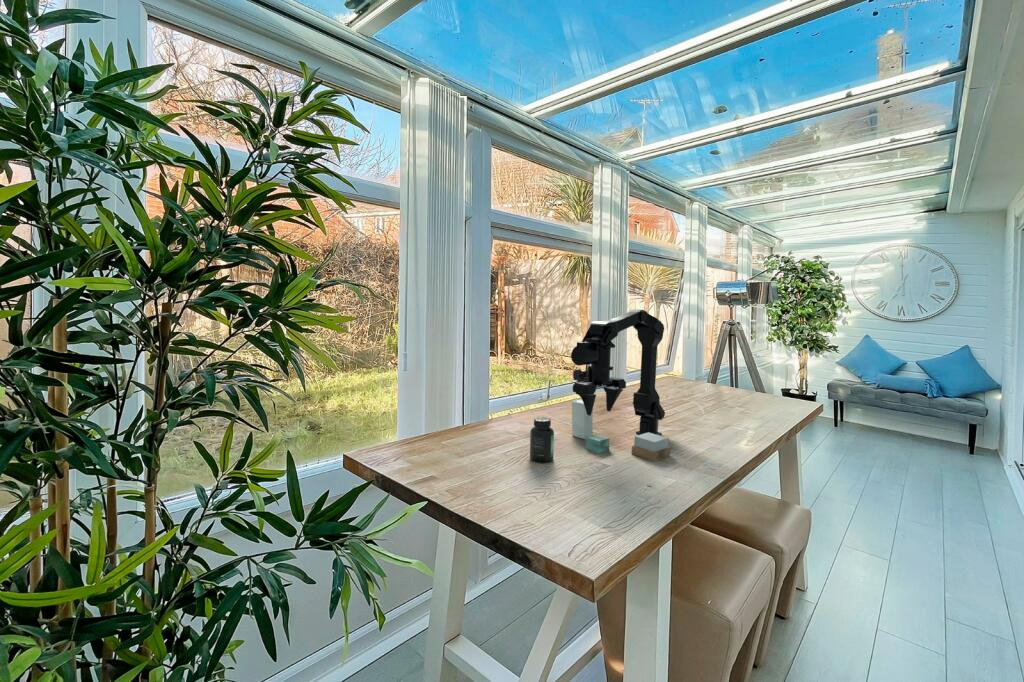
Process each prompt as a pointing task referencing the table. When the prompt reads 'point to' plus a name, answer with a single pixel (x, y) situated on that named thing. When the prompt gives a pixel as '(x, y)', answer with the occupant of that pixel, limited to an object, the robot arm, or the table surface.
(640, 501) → the table surface
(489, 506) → the table surface
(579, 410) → the skincare box
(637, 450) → the walnut base block
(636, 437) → the slate-grey top block
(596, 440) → the teal cube
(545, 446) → the supplement bottle
